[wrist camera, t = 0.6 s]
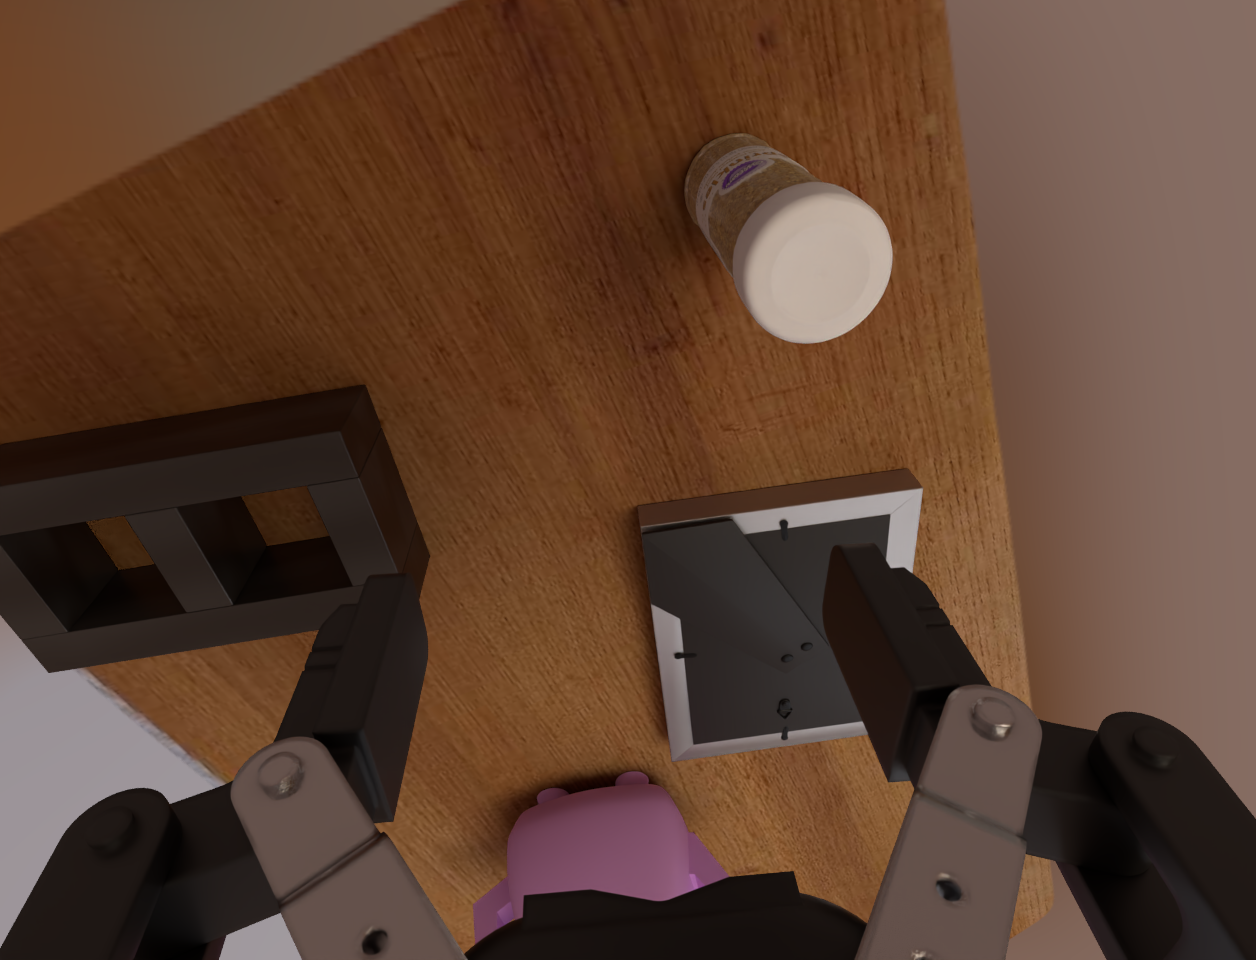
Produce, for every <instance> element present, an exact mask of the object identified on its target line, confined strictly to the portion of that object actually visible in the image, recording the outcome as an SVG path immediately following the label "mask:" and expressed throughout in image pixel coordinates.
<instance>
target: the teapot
mask: <svg viewBox="0 0 1256 960" xmlns="http://www.w3.org/2000/svg"><path fill="white" fill-rule="evenodd" d="M648 782H649V779H648V777H647V776H646V775H645V774H644V773H641V772H636V771H631V772H626V773H624V774H622V775H620V776H619V777H618V778H617V779H616V783H615V786H613V787H604V788H597V789H592V790H586V791H582V792H577V793H573V794H570V795H569V793H568V792H567V791H565V790H563V789H560V788H549V789H546V790H543V791H542V792H540V793H539V794H538V796H537V801H538V803H539V805H536V806H534V807H531V808H529V809H527V810H526V811H524V812H523V813H522V814H521V815H520V816H519V818H518V820H517V821H516V823H515V825H514V827H513V829H512V831H511V833H510V835H509V839H508V845H507V873H508V876H507V877H506V878H505V879H504V880H502V881H501V882H500V883H499V884H498V885H496V886H495V887H494V888H493V889H491V890H490V891H489V892H488V893H487V894H485V895H484V896H483V897H482V898H480V899H479V900H478V901H477V902H476V903H474V904H473V912H474V930H475V944H476V943H477V942H479V941H480V940H481V939H483V938H484V937H486V936H487V935H488V934H490V933H491V932H493V931H494V930H496V929H498V928H500V927H502V926H504V925H506V924H507V923H508V922H510V921H511V920H512V919H515V920H517V919H519V918H522V917H523V897H524V895H531V894H542V893H553V892H565V891H576V890H587V889H593V890H598V891H604V892H609V893H615V894H620V895H626V896H631V897H637V898H642V899H648V900H653V901H665V900H669V899H671V898H674V897H677V896H679V895H682V894H685V893H687V892H690V891H692V890H695V889H698V888H700V887H703V886H706V885H708V884H711V883H714V882H716V881H719V880H722V879H724V878H727V877H729V875H728V874H727V873H726V872H725V871H724V869H723V868H722V867H721V866H720V864H719V863H718V862H717V861H716V859H715V858H714V857H713V856H712V854H711V853H710V852H709V851H708V849H707V848H706V847H705V846H704V845H703V843H702V842H701V841H700V840H699V838H698V837H697V836H696V835H695V833H694V832H692V833H689V832H688V829H687V826H686V824H685V822H684V820H683V818H682V815H681V814H680V812H679V810H678V808H677V807H676V805H675V803H674V801H673V800H672V798H671V797H670V795H669V794H668V793H667V791H666V790H665V789H664V788H663V787H660V786H658V785H653V784H648Z"/></svg>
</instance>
